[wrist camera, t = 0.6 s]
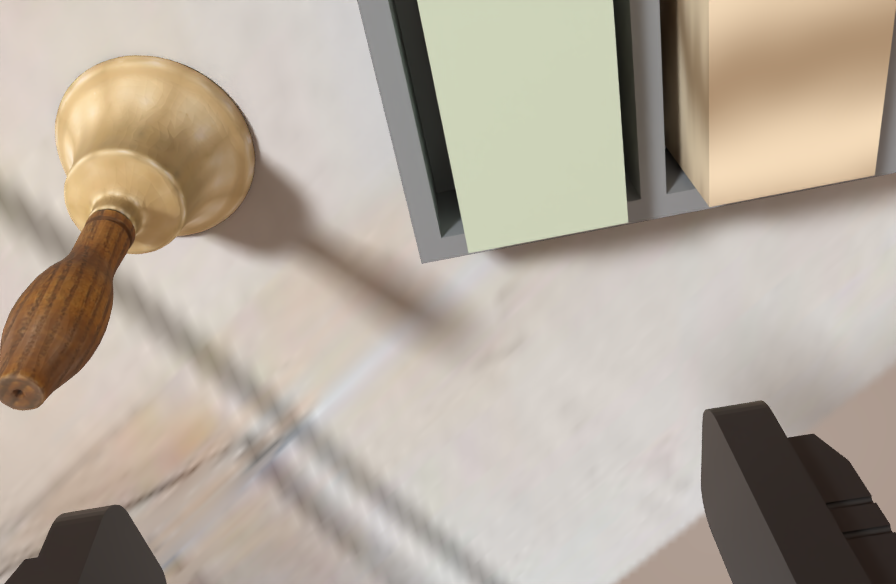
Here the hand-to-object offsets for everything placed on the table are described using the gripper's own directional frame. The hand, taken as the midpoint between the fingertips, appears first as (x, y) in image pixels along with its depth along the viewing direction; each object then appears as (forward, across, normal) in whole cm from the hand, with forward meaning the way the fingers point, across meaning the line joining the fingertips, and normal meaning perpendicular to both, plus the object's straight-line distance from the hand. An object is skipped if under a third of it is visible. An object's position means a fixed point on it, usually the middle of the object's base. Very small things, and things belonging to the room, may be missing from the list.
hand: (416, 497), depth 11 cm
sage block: (+24, -4, +2) cm, 24 cm away
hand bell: (+25, +11, +4) cm, 28 cm away
